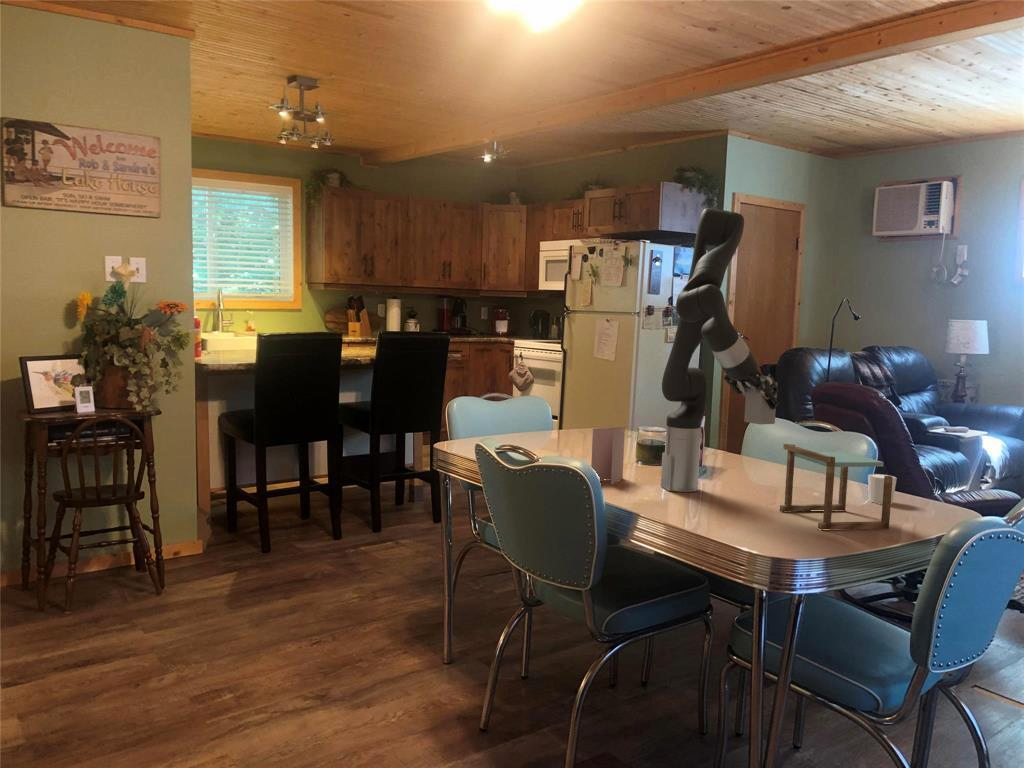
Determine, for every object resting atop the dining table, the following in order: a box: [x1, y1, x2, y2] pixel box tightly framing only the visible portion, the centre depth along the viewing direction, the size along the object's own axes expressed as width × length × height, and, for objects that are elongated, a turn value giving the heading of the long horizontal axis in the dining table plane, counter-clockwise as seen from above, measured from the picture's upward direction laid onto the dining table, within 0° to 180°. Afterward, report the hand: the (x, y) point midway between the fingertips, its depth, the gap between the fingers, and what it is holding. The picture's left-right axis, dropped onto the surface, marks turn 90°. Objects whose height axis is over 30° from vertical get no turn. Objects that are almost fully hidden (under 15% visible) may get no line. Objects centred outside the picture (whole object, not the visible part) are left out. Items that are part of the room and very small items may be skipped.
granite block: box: [743, 381, 778, 425], centre depth 187 cm, size 5×5×10 cm
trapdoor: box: [794, 451, 885, 468], centre depth 181 cm, size 14×14×1 cm
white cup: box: [867, 473, 898, 505], centre depth 202 cm, size 7×7×7 cm
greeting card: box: [590, 426, 626, 486], centre depth 218 cm, size 11×7×15 cm, turn 121°
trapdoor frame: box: [779, 443, 893, 531], centre depth 182 cm, size 17×18×17 cm
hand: (765, 405), depth 188 cm, fingers closed on granite block, 5 cm apart
